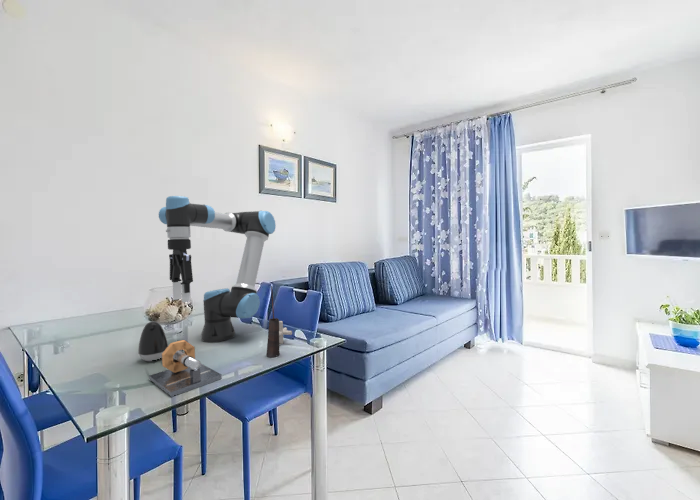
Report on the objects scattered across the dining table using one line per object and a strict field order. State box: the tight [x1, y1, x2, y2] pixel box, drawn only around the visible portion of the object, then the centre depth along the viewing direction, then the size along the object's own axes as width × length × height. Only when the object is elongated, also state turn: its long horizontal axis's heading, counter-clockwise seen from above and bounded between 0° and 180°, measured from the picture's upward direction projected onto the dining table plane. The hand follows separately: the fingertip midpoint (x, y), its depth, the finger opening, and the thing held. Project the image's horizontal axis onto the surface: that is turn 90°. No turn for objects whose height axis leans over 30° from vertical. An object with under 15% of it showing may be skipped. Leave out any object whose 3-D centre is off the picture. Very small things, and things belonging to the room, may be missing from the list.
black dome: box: [137, 320, 169, 362], centre depth 128 cm, size 10×10×15 cm
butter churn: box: [266, 285, 281, 358], centre depth 129 cm, size 9×10×28 cm
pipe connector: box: [279, 320, 293, 345], centre depth 144 cm, size 10×10×10 cm
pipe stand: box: [148, 350, 222, 398], centre depth 109 cm, size 19×16×9 cm
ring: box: [161, 339, 196, 373], centre depth 112 cm, size 2×10×10 cm, turn 139°
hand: (181, 300), depth 119 cm, fingers open, 7 cm apart
